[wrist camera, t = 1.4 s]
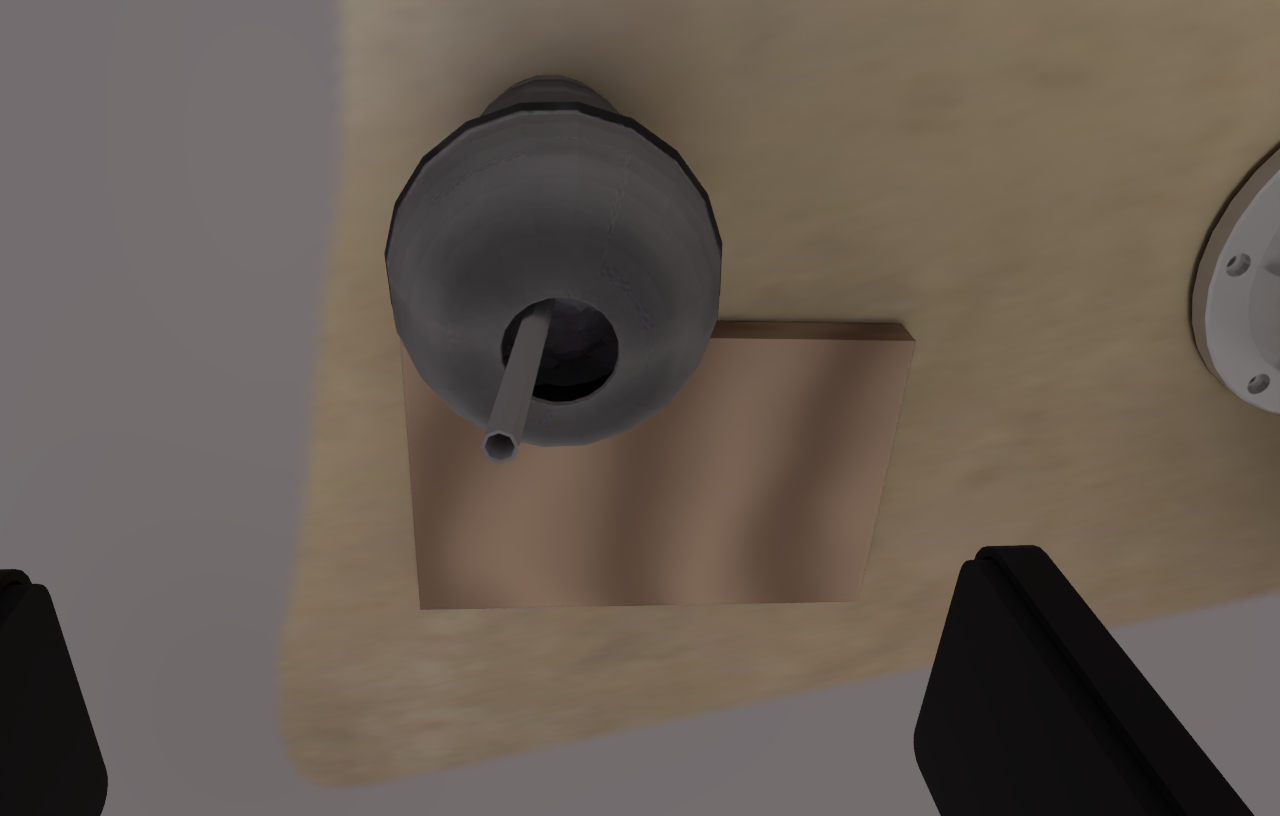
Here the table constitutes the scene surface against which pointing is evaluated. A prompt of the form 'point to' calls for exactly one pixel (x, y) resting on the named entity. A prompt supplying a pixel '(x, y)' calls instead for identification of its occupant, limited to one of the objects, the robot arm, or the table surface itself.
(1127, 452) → the table surface
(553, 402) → the beverage cup
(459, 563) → the serving board
